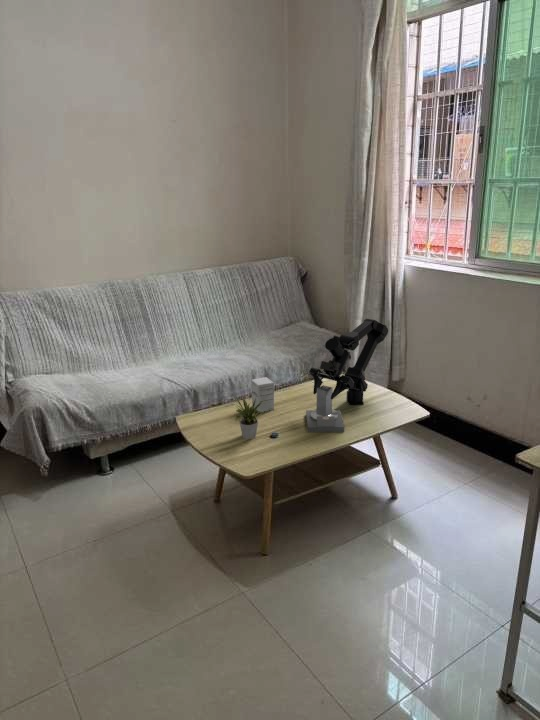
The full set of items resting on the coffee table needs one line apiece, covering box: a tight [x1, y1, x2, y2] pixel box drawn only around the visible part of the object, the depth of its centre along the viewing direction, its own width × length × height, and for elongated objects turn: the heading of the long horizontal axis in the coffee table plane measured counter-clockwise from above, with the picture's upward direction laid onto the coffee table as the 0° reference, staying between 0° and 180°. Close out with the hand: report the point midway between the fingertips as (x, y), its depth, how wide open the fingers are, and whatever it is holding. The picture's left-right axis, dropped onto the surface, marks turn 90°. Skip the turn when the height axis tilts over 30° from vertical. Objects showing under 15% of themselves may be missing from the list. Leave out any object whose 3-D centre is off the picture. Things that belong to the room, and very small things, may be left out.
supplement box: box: [251, 376, 275, 413], centre depth 236 cm, size 7×7×13 cm
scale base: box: [305, 409, 345, 433], centre depth 223 cm, size 14×16×5 cm
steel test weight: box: [315, 384, 334, 416], centre depth 223 cm, size 4×4×11 cm
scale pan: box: [311, 408, 338, 421], centre depth 225 cm, size 11×11×1 cm
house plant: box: [230, 396, 265, 440], centre depth 211 cm, size 14×14×16 cm
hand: (322, 396), depth 221 cm, fingers open, 8 cm apart
